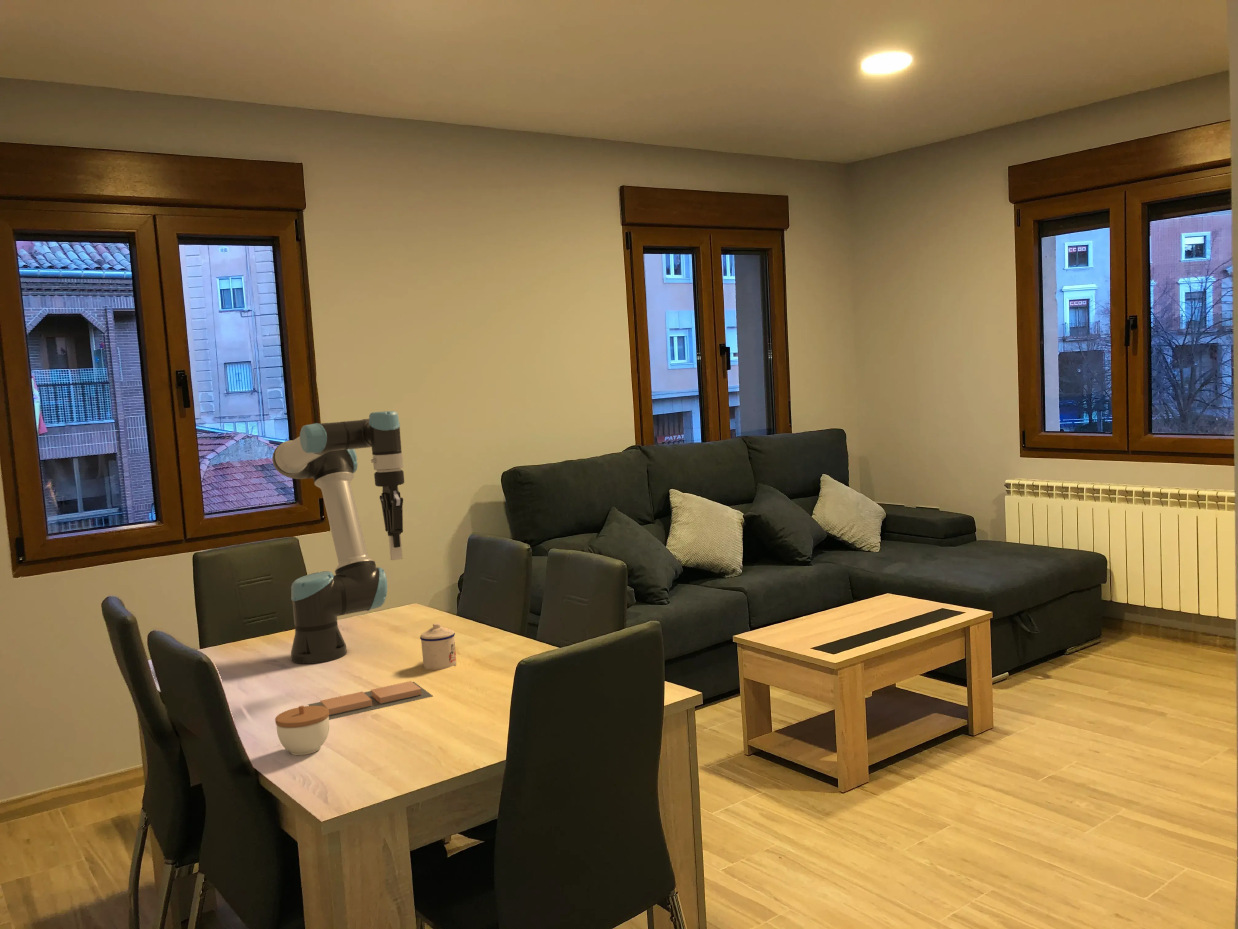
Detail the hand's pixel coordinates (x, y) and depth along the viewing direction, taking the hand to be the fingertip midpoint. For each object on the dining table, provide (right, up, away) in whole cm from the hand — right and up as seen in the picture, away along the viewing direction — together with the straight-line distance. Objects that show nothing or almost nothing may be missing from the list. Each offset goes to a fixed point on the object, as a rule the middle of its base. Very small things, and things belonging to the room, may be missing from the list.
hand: (396, 559), depth 263 cm
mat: (0, -32, -25) cm, 41 cm away
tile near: (-7, -31, -26) cm, 41 cm away
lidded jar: (-7, -35, -54) cm, 65 cm away
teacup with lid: (+11, -29, +3) cm, 31 cm away
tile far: (+3, -30, -20) cm, 36 cm away
